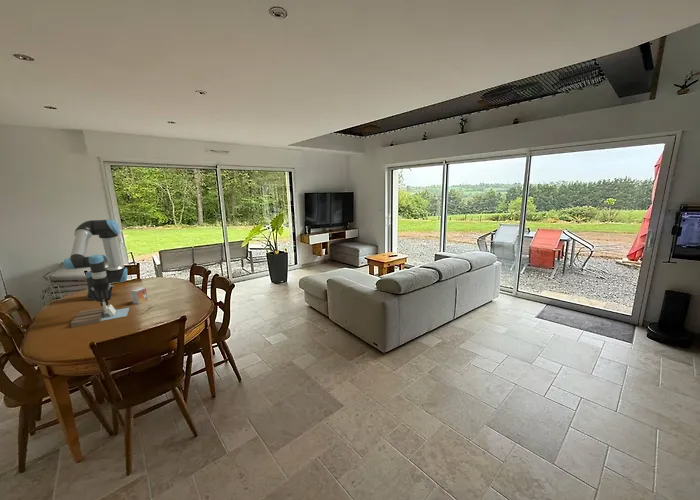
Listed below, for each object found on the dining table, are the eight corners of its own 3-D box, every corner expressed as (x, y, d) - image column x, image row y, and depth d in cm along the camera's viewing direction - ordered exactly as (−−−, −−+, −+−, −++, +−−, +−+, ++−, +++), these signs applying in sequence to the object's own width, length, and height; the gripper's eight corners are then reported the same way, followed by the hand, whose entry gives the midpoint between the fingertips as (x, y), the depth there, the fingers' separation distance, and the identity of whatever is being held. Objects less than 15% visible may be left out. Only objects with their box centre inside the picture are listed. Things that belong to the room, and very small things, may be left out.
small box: (138, 304, 219) (136, 291, 217) (133, 303, 220) (130, 290, 218) (148, 300, 227) (146, 287, 225) (142, 299, 228) (140, 287, 226)
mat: (105, 311, 205) (105, 311, 205) (129, 307, 212) (129, 307, 212) (100, 321, 190) (100, 320, 190) (126, 316, 197) (126, 315, 197)
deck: (80, 315, 199) (79, 311, 198) (106, 311, 206) (105, 307, 206) (71, 327, 181) (70, 323, 180) (99, 322, 188) (99, 318, 187)
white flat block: (107, 305, 201) (110, 304, 202) (113, 312, 203) (116, 310, 204) (105, 309, 194) (108, 308, 194) (110, 316, 196) (114, 315, 197)
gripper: (85, 280, 186) (92, 313, 191) (110, 277, 193) (116, 309, 198) (88, 277, 192) (94, 310, 197) (112, 274, 199) (118, 306, 204)
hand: (105, 309), depth 197 cm, fingers closed
